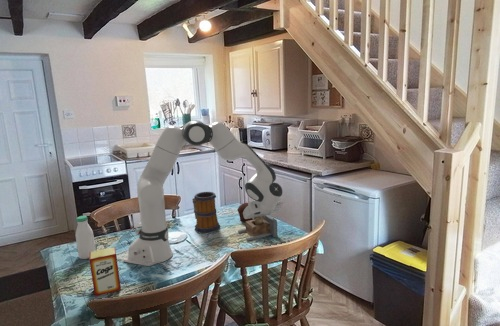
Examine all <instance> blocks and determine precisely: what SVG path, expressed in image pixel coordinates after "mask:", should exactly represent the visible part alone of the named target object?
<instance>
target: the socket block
mask: <svg viewBox="0 0 500 326" xmlns="http://www.w3.org/2000/svg"><path fill="white" fill-rule="evenodd" d="M245 229H246V232H245V233H247V234H248V236H249V237H251V236H256V235H260V234H264V233H268V232H270V223H268V222H267V221H266V220H264V219H263V224H259V225H255V220H250V221H246V222H245Z"/></svg>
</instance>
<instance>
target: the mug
mask: <svg viewBox="0 0 500 326" xmlns="http://www.w3.org/2000/svg"><path fill="white" fill-rule="evenodd" d="M193 197H194V198H193ZM193 197H192V204H193V212H194V218H195V220H196V224H195V225H194V231H195V232H196V233H198V234H202V235H203V234H204V235H205V234H211V233H215V232H217V231H219V230H220V228H221V225H220V223H219V221H218V215H217V208H216V198H217V195H216V193H215V192H213V191H202V192H198V193H195V195H194V196H193Z"/></svg>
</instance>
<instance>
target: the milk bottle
mask: <svg viewBox="0 0 500 326" xmlns="http://www.w3.org/2000/svg"><path fill="white" fill-rule="evenodd" d="M76 222H77V227H76V230H75V241H76V242H75V243H76V247H77V249H76V250H77V254H78V258H79V259H80V260H87V259H88V260H89V254H90V252H93V251H97V250H96V243H95V237H94V236H95V235H94V231H93V229H92V228H91V226H90V224H89V223H88V216H87V215H80V216H78V217H76Z"/></svg>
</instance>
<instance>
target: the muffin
mask: <svg viewBox="0 0 500 326" xmlns="http://www.w3.org/2000/svg"><path fill="white" fill-rule="evenodd" d="M248 203H249V202H243V203H242V204H240V205H239V206H238V207H237V209H236V210H237V212H238V215H239V220H240V222H243V223H246V221H250V220H255V219H253V218H250V219H245V218H244V216H243V211H244V209H245V208H246V207H247V206H248Z"/></svg>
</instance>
